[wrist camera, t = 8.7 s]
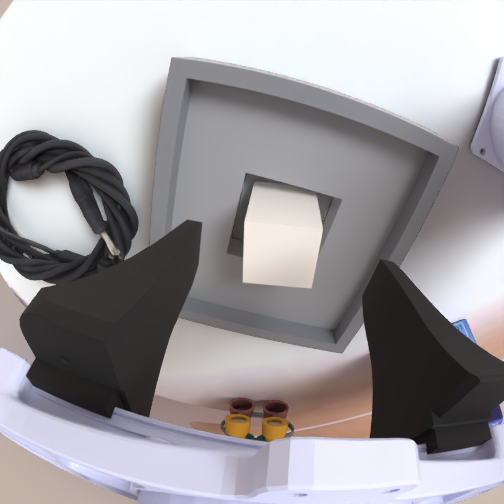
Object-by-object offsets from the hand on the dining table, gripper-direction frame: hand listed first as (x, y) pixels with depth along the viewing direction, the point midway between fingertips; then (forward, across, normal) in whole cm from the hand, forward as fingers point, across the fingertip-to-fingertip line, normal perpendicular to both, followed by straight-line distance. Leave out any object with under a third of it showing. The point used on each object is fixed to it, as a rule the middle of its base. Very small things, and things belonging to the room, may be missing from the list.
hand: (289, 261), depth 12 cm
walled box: (+9, 0, +3) cm, 10 cm away
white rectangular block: (+9, 0, +3) cm, 10 cm away
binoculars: (+10, -4, +29) cm, 31 cm away
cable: (+10, +19, +6) cm, 22 cm away
